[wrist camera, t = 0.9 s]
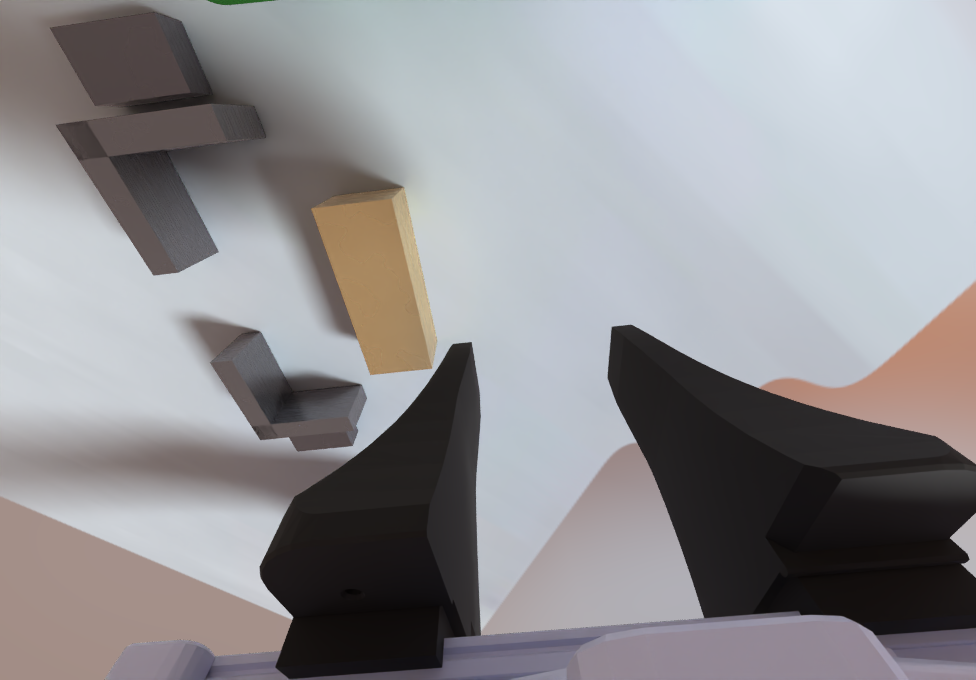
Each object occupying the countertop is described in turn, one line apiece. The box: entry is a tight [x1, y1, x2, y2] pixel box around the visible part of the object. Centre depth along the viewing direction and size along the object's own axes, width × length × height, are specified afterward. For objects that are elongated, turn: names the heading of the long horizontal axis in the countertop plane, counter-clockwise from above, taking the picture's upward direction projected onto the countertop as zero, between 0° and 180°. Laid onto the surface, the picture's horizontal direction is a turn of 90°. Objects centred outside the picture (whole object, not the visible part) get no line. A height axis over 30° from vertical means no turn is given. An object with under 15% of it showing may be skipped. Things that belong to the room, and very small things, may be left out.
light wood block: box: [311, 187, 437, 375], centre depth 19 cm, size 9×4×3 cm, turn 6°
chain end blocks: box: [50, 12, 367, 451], centre depth 19 cm, size 23×6×3 cm, turn 6°
